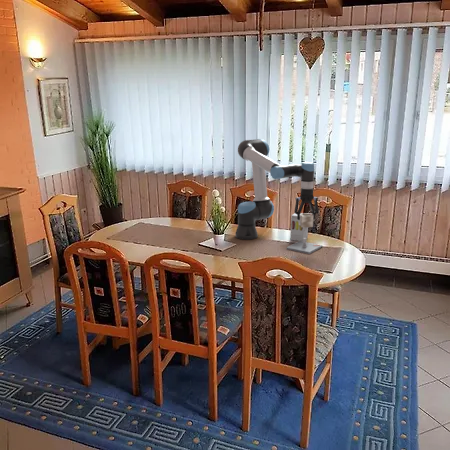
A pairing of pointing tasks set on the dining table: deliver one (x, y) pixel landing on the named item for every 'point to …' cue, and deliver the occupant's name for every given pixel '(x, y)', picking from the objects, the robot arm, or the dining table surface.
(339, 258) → the dining table surface
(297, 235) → the supplement box
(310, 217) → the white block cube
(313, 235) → the dining table surface
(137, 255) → the dining table surface
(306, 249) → the shaft plate
